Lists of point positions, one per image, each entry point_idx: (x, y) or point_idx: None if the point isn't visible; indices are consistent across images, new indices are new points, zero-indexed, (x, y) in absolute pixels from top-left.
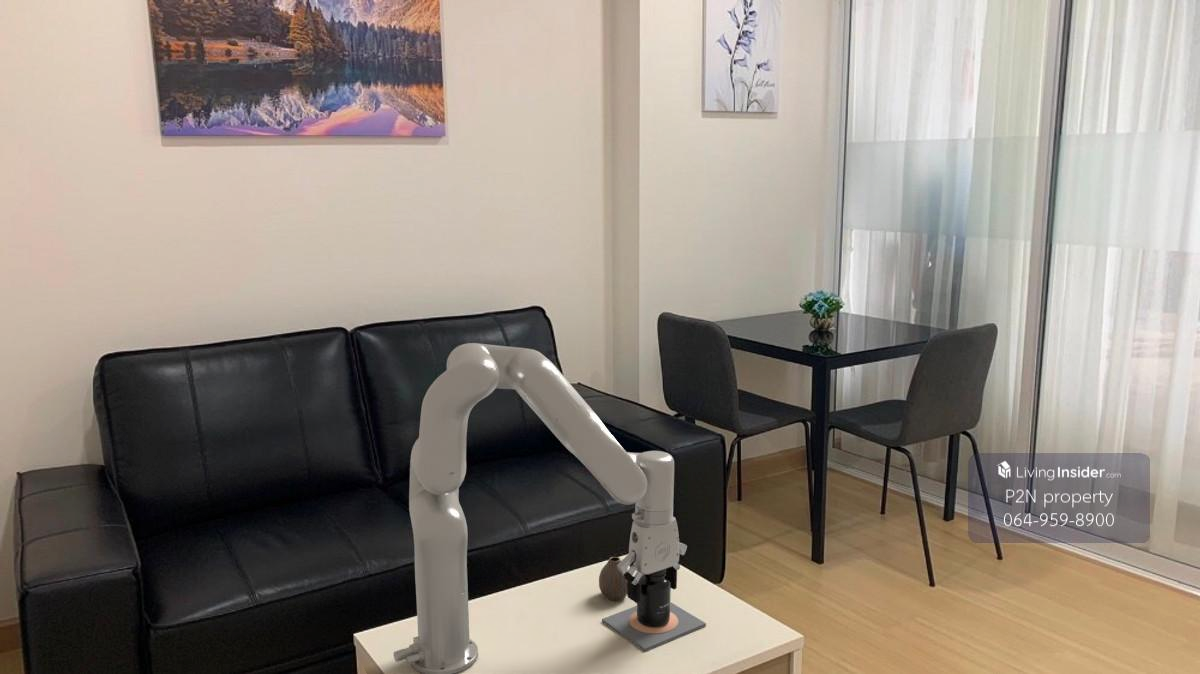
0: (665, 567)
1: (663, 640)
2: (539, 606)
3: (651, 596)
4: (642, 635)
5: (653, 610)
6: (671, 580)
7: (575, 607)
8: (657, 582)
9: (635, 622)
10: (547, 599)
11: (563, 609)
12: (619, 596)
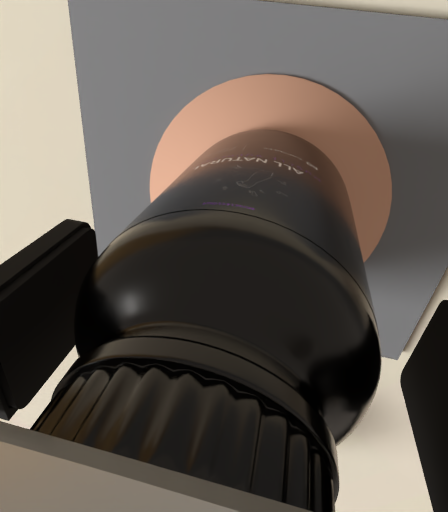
0: (67, 490)
1: (401, 19)
2: (429, 501)
3: (359, 262)
4: (421, 156)
5: (337, 195)
6: (60, 282)
7: (365, 441)
8: (274, 330)
9: None
10: (377, 500)
11: (401, 458)
12: None
